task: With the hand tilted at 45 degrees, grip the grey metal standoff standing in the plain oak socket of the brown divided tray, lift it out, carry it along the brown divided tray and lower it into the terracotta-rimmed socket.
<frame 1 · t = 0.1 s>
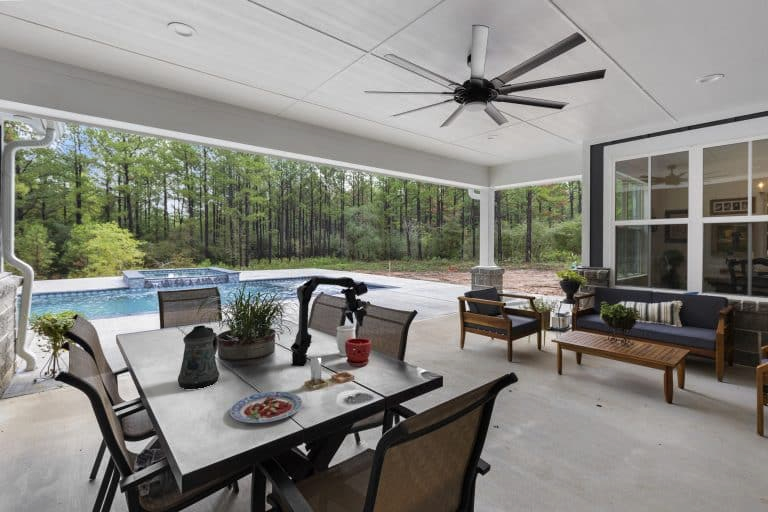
hand: (357, 325, 212), 15 cm above the table, tool pointing down, fingers open, 9 cm apart
jar: (346, 354, 209), on the table
plant pot: (358, 364, 193), on the table
beer stein: (199, 382, 169), on the table
standoff: (316, 385, 162), point 1 cm above the table, touching brown divided tray
ceramic plate: (267, 411, 140), on the table
brown divided tray: (329, 383, 166), on the table
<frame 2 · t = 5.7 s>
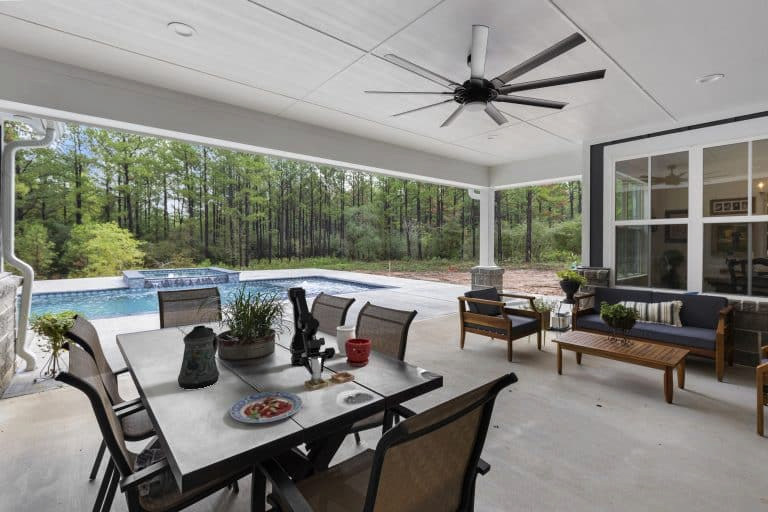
hand: (316, 373, 161), 7 cm above the table, tool tilted 45°, fingers closed on standoff, 4 cm apart
standoff: (316, 385, 162), point 1 cm above the table, touching gripper, brown divided tray
everything else where it was.
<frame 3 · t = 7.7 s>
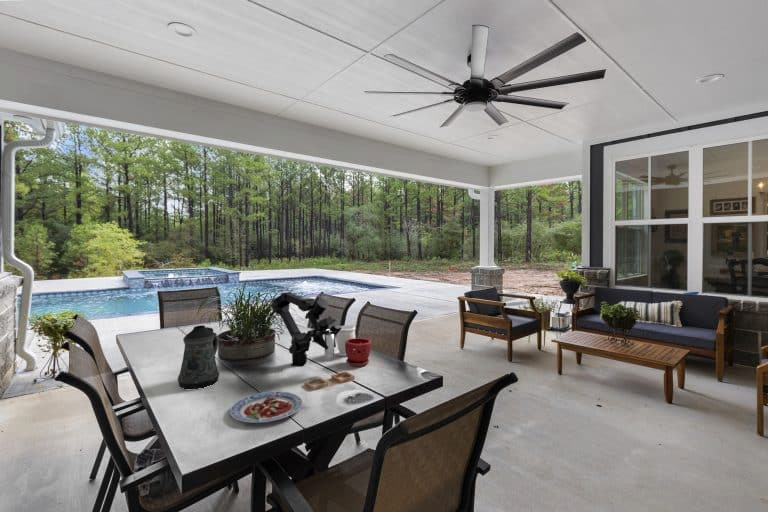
hand: (331, 348, 175), 13 cm above the table, tool tilted 45°, fingers closed on standoff, 4 cm apart
standoff: (329, 359, 176), point 7 cm above the table, touching gripper
everything else where it was.
when the fingers open (7 cm above the table, at t = 10.0 s): standoff stays where it is, resting on brown divided tray.
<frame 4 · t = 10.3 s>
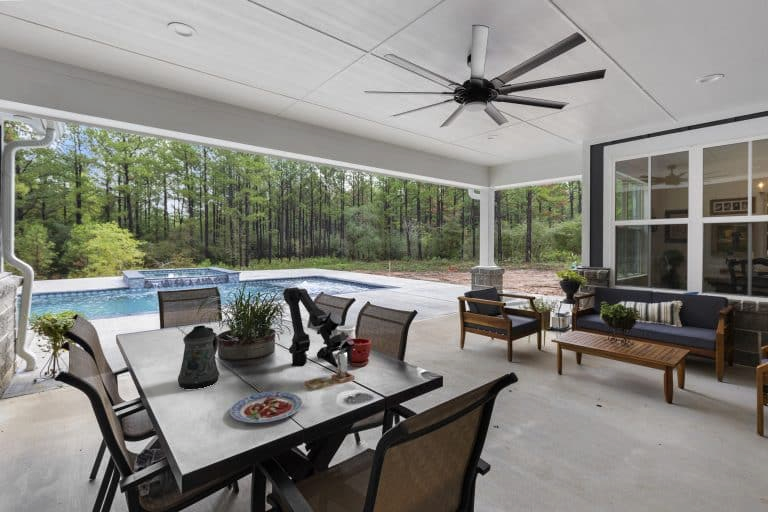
hand: (344, 365, 169), 7 cm above the table, tool tilted 45°, fingers open, 8 cm apart
standoff: (342, 379, 170), point 1 cm above the table, touching brown divided tray
everything else where it was.
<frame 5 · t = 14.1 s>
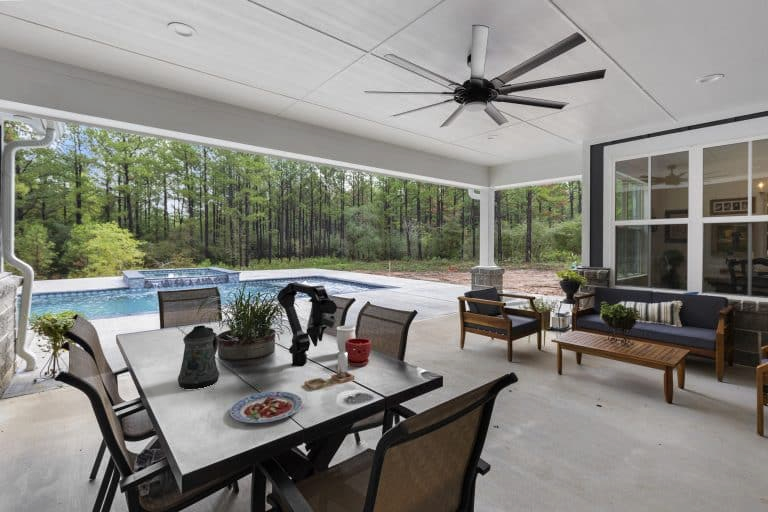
hand: (318, 343, 183), 13 cm above the table, tool pointing down, fingers open, 9 cm apart
nothing on the table moved.
at the end: standoff 0.1 cm from the target spot, point 0.6 cm above the table; standoff tilted 0°; the gripper is holding nothing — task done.
